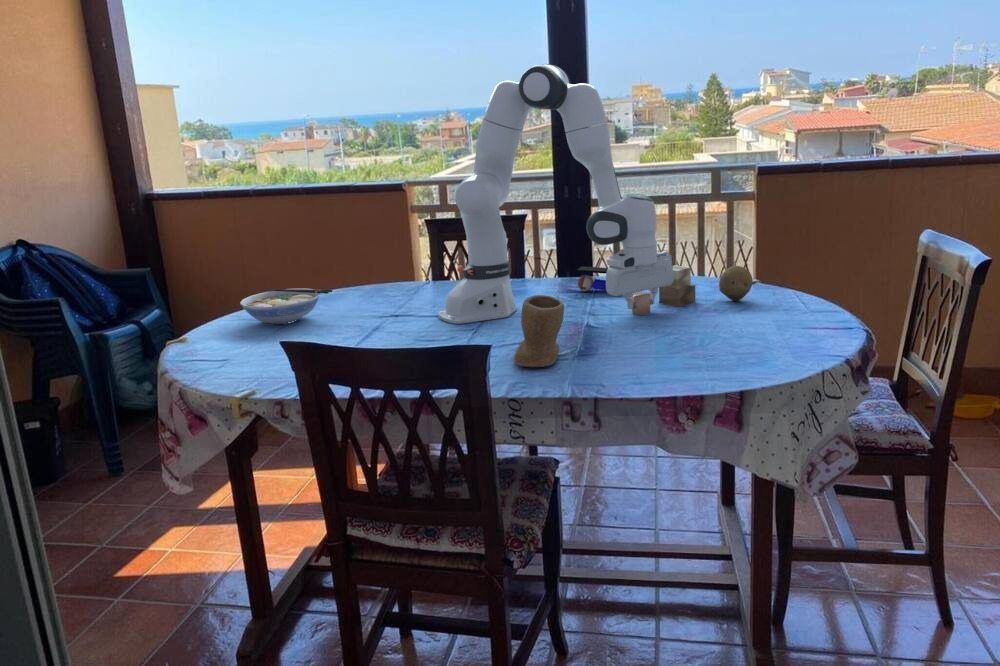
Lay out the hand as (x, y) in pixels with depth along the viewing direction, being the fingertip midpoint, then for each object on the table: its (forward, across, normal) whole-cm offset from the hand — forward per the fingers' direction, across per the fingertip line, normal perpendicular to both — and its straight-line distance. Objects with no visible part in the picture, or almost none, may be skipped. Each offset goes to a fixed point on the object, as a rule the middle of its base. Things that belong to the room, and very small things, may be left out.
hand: (641, 306), depth 217 cm
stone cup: (+2, +42, +18) cm, 46 cm away
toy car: (+2, -7, -28) cm, 29 cm away
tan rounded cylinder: (+2, 0, 0) cm, 2 cm away
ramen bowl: (+2, +82, -62) cm, 103 cm away
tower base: (+2, -14, -2) cm, 14 cm away
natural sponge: (+2, -26, +8) cm, 27 cm away
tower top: (-3, -14, -2) cm, 14 cm away
